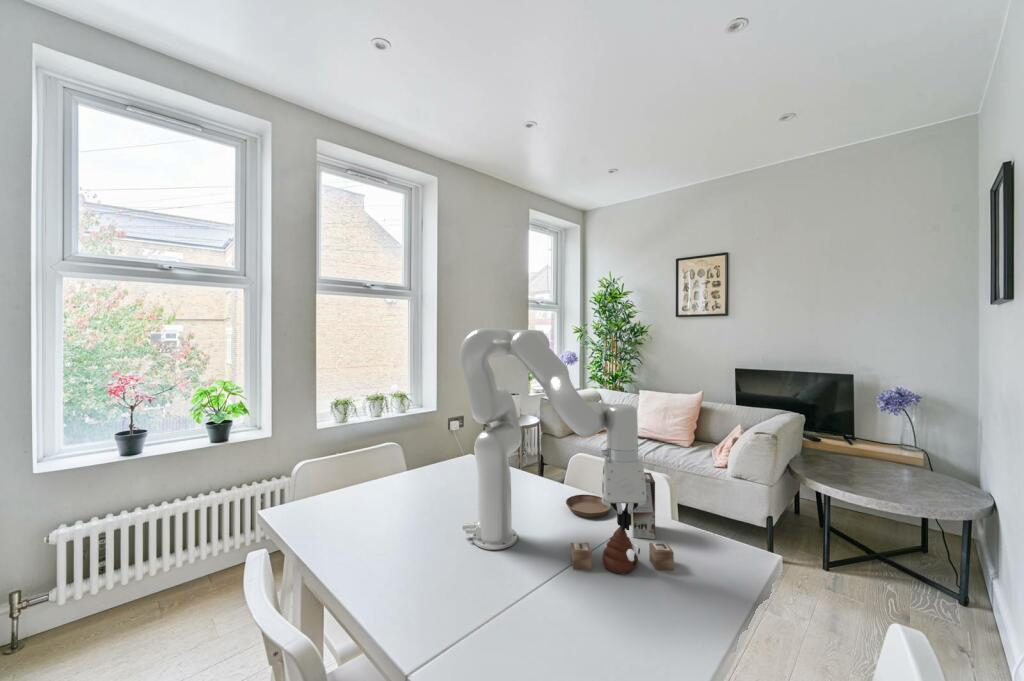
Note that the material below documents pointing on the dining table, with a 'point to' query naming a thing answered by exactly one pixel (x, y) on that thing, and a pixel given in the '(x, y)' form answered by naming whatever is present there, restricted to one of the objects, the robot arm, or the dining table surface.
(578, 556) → the letter i block
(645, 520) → the coffee box
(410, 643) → the dining table surface
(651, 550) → the letter l block
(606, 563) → the poop emoji
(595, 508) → the saucer
